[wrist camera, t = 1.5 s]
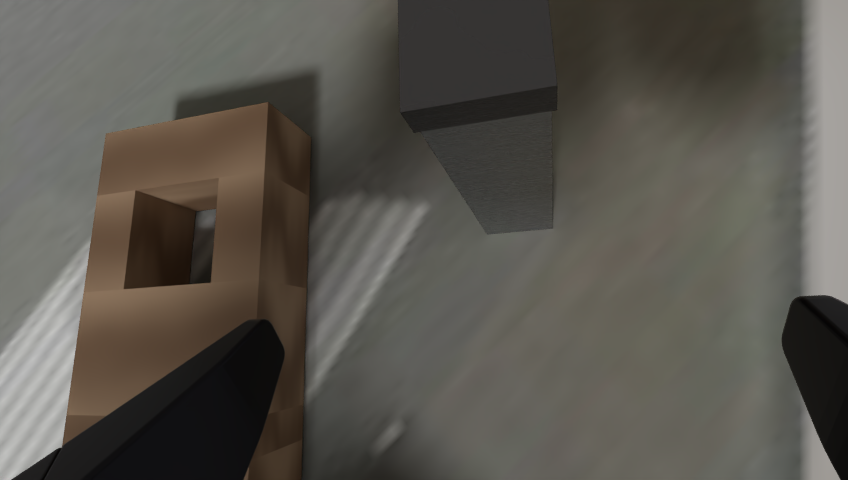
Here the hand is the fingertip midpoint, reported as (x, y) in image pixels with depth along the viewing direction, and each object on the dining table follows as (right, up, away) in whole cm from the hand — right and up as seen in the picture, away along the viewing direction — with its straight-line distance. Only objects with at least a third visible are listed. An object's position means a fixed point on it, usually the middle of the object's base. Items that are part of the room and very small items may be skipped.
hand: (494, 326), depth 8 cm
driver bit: (+3, +3, +13) cm, 14 cm away
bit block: (-12, -3, +16) cm, 20 cm away
